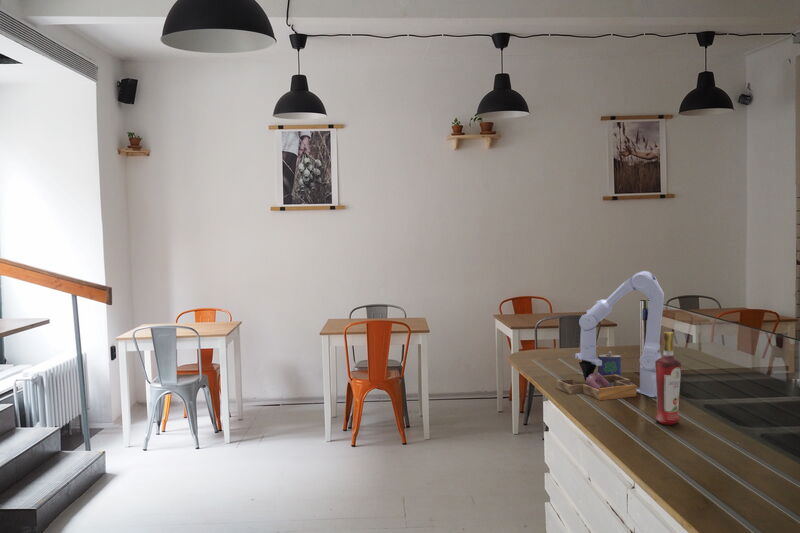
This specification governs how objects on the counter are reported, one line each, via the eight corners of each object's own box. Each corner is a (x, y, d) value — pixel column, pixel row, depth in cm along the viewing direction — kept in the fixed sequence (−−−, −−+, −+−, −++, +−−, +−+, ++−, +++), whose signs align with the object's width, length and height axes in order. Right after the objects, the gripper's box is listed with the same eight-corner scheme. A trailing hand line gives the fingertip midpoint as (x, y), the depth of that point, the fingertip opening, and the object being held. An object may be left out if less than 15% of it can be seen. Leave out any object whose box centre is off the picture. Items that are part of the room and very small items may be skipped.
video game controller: (600, 389, 238) (592, 372, 240) (611, 386, 235) (603, 368, 237) (590, 395, 231) (582, 377, 232) (601, 391, 228) (592, 373, 229)
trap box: (649, 394, 225) (649, 383, 225) (586, 401, 217) (586, 390, 217) (615, 382, 244) (615, 371, 243) (556, 388, 236) (556, 377, 236)
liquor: (667, 417, 198) (668, 330, 197) (685, 424, 192) (687, 333, 190) (649, 420, 196) (650, 331, 194) (667, 427, 189) (668, 335, 187)
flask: (620, 377, 252) (620, 350, 251) (622, 378, 249) (622, 352, 248) (596, 377, 252) (597, 350, 251) (598, 379, 249) (598, 352, 248)
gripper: (568, 342, 244) (568, 377, 244) (590, 349, 230) (590, 386, 231) (584, 341, 246) (584, 375, 247) (606, 348, 232) (606, 384, 233)
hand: (588, 380), depth 239 cm, fingers closed
